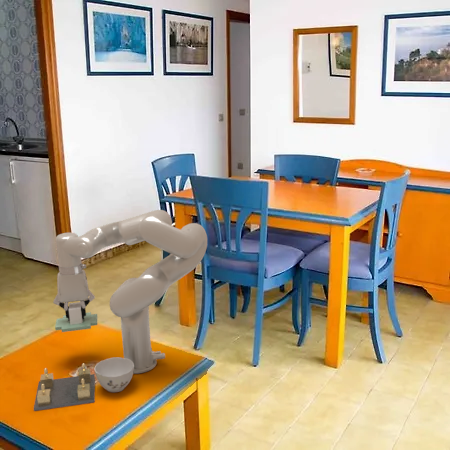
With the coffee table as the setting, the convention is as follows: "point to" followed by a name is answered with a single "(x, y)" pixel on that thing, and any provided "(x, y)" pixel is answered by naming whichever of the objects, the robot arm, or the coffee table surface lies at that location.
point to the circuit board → (74, 327)
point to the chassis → (65, 390)
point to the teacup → (114, 373)
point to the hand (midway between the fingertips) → (76, 318)
